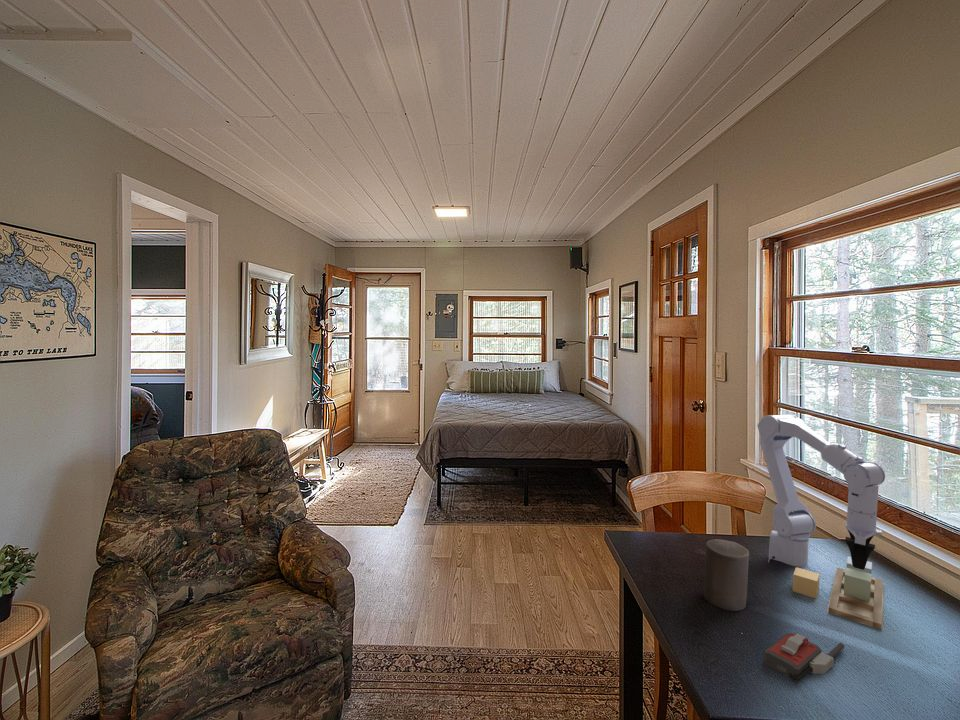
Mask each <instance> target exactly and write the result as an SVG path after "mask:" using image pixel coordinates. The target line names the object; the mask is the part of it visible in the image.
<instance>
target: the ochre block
mask: <svg viewBox="0 0 960 720" xmlns="http://www.w3.org/2000/svg"><path fill="white" fill-rule="evenodd" d="M819 591H820V573H818V572H815V571H811V570H807V569H804V568H801V567H797V566H795V570H794V572H793V574H792V592H794V593H797V594H800V595H804V596H807V597H810V598H813V599H818V596H819Z"/></svg>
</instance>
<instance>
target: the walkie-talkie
mask: <svg viewBox="0 0 960 720" xmlns="http://www.w3.org/2000/svg"><path fill="white" fill-rule="evenodd" d="M844 648H845V645H844V643H841V642H839V643H838V644H837V645H836V646H834V647H833V648H832V649H831V650H830V651H829V652H828V653H825V652H823V651H822V649H821V647H819V646H818V645H817V644H816V643H813V642H811V641H809V639H808V638H807V637H806V636H803V635H800V634H799V633H797V632H795V633H791V632H790V633H789V632H788V633H787V632H786V633H785V634H784V635H782V636H781V637H780V638H779V639H777V640H776V641H775V642H774V643H772V644H771V645H770V646H769V647H767V648H766V649H765V650H764V651H763V663H764V665H765V666H767V667H769V668H771V669H772V670H774V671H776V672H778V673H780V674H782V675H783V676H785V677H787V678H789V679H791V680H792V681H794V682H800V681H801V680H802V679H803V678H804V677H805V676H806V675H807V674H809V673H810V674H814V675H816V674H817V675H824V674H826V673H827V672H828V671H829V670H830V669H832V668H833V667H834V661H835V659H834V658H835V657H836V656H837V655H838V654H840V653H841V651H842V650H843V649H844Z"/></svg>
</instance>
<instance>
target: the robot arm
mask: <svg viewBox="0 0 960 720" xmlns="http://www.w3.org/2000/svg"><path fill="white" fill-rule="evenodd" d="M757 429H758V433H759V435H760V438H759V441H760V442H759V443H760V447H761V451H762V454H763V455H762V456H763V458H764V461H765V465H766V468H767V472H768V475H769V478H770V481H771V485H772V488H773V491H774V494H775V498H776V502H777V503H776V504H775V506H774V507H773V508H772V511H771V512H772V515H773V516H772V517H773V518H772V523H773V527H774V530H773V529H772V530H771V531H770V536H769V544H768V561H767V563H768V564H769V562H770V560H774V561H778V562H781V563H783V564H786V565H789V566H792V567H798V568H801V567H802V568H803V567H807V566H808V562H809V561H808V560H809V544H810V542H809V541H810V538H811V534H813V533H814V532H815V531H816V528H817V522H816V520H815V518H814V517H813V515H812V514H811V512H810V509H809V507H808V506H807V505H806V504H804V503H803V502H801V500H800V499H799V496H798V493H797V489H796V487H795V483H794V480H793V477H792V473H791V470H790V466H789V463H788V461H787V457H786V453H785V451H784V446H785V445H786V443H787V442H789V440H791V439H792V438H796V439H798V440H800V441H801V442H803V443H805V444H806V445H807V446H809V447H811V448H812V449H814V450H816V451H817V452H819V453H820V456H821V459H822V460H823V461H824V462H825V463H827V464H829V465H830V466H831V467H832V468H834V469H836V470H837V471H838V472H839V473H841V474H842V475H843V478H844V480H845V481H846V483H847V490H848V496H847V509H846V510H847V512H846V522H845V525H844V526H845V529H846V530H847V532H848V534H849V537H848V536H845V542H846V545H847V547H848V549H849V553H850V557H851V559H852V565H853V567H854V568H858V569H862V570H864V569H865V566H866V563H867V561H869V557H870V555H871V553H872V552H873V551H874V550H875V548H876V544H873V543H870V542H871V541H872V539H873V538H874V537H875V535H878V536H882V535H883V531H882V530H881V529H877V517H878V504H879V503H878V502H879V487H880V485H882V484H883V483H884V482H885V479H886V474H885V471H884V469H883V468H882V467H881V466H880V465H879V464H878V463H877V462H874V461H866V460H864V458H863V457H861V456H857V454H854V453H853V452H852V451H850V450H849V449H848V448H847V446H846V445H844V444H843V443H836V442H834V443H831V442H829V441H828V440H826V439H825V438H823V437H822V436H821V435H820V434H818V432H817V433H816V432H815V430H813V429H811V427H809V426H807V424H805V421H804V420H803V419H802V418H799V417H798V416H797V415H795V414H791V413H789V414H788V413H787V414H777V415H776V414H775V415H774V414H772V415H770V414H766V415H764V416H762V417H761V418H760V420H759V421H758V423H757Z"/></svg>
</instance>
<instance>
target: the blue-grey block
mask: <svg viewBox="0 0 960 720" xmlns="http://www.w3.org/2000/svg"><path fill="white" fill-rule="evenodd" d="M846 567H847V568H851V569H855V570H858V571H862V572H866V573H870V574H871V575H872V570H873V561H869V560H867V563H866V566H865V569H864V570H862V569H858V568H854V567H853V565H852V559H851V556H847V559H846Z"/></svg>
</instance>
